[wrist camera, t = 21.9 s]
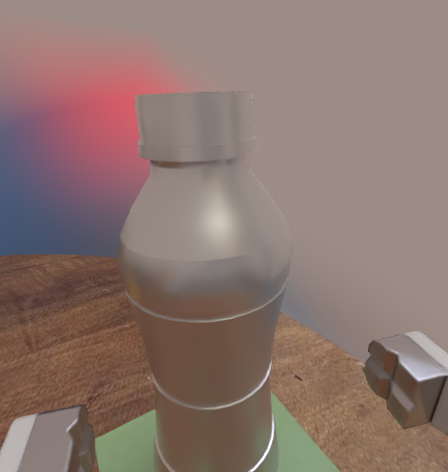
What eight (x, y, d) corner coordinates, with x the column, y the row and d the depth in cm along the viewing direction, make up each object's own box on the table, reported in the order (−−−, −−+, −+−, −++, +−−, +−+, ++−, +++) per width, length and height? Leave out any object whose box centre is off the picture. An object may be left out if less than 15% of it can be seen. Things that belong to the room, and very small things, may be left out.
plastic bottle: (154, 440, 20) (89, 98, 12) (253, 410, 21) (256, 93, 13) (165, 576, 14) (55, 94, 6) (299, 521, 16) (352, 86, 8)
